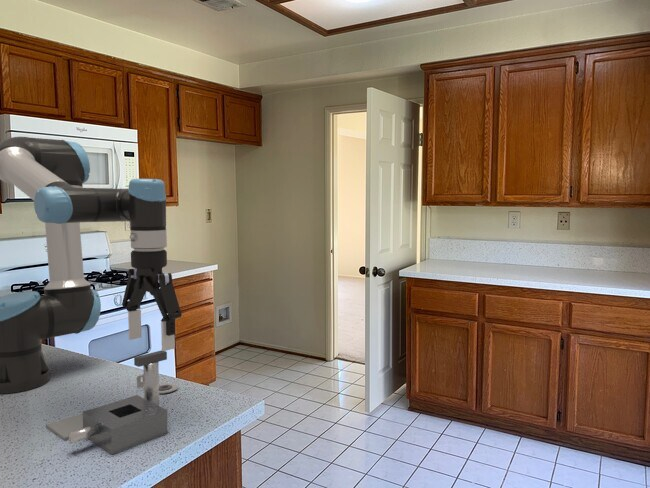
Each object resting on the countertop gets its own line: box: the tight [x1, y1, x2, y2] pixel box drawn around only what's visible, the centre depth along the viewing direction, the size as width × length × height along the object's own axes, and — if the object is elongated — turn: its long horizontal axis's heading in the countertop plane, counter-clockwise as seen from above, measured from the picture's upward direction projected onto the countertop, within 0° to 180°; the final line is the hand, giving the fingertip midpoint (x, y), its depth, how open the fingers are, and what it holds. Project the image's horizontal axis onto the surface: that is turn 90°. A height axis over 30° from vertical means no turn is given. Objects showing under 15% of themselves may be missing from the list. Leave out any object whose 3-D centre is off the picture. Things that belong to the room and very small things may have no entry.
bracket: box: [136, 373, 179, 395], centre depth 130 cm, size 7×10×4 cm, turn 57°
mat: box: [45, 412, 83, 441], centre depth 108 cm, size 9×9×1 cm
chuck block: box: [68, 394, 169, 455], centre depth 103 cm, size 12×17×5 cm
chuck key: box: [133, 349, 168, 406], centre depth 114 cm, size 7×3×14 cm, turn 140°
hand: (151, 343), depth 113 cm, fingers open, 13 cm apart
